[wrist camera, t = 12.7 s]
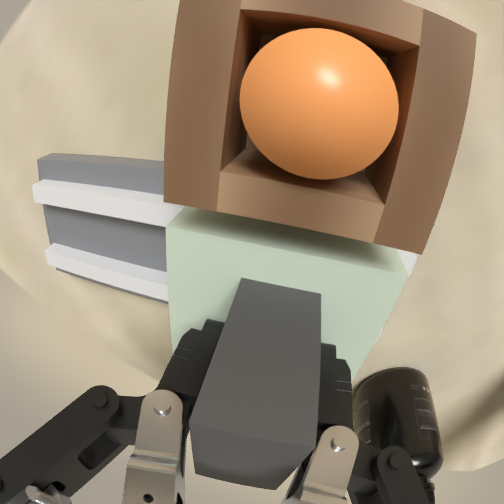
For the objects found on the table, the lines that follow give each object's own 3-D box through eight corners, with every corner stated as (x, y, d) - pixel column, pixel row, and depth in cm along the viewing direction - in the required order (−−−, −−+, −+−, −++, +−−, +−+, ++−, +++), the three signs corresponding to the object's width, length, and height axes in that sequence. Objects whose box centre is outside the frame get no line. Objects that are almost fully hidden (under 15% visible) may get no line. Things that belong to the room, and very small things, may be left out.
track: (419, 212, 15) (436, 234, 12) (369, 330, 19) (373, 359, 17) (51, 153, 17) (24, 164, 15) (67, 259, 22) (47, 277, 19)
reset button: (375, 64, 8) (409, 51, 5) (356, 160, 10) (379, 194, 7) (270, 44, 9) (250, 18, 5) (257, 139, 11) (231, 164, 7)
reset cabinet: (403, 55, 11) (476, 33, 4) (376, 182, 14) (421, 254, 8) (231, 23, 12) (166, -23, 5) (216, 150, 15) (147, 199, 9)
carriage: (391, 237, 12) (454, 421, 5) (340, 356, 17) (336, 502, 9) (193, 197, 13) (64, 343, 6) (191, 325, 17) (129, 459, 10)
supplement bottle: (381, 414, 25) (383, 523, 14) (338, 390, 23) (332, 520, 13) (439, 382, 21) (460, 500, 11) (404, 352, 20) (424, 499, 10)
